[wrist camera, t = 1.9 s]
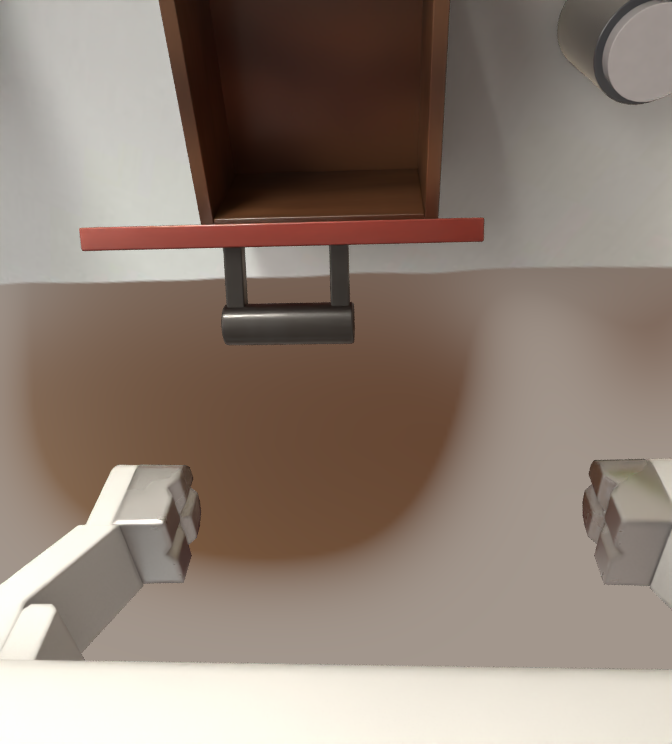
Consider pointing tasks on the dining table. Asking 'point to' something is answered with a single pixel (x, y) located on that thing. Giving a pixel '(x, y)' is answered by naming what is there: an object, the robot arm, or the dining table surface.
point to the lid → (285, 318)
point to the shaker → (620, 46)
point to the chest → (311, 107)
